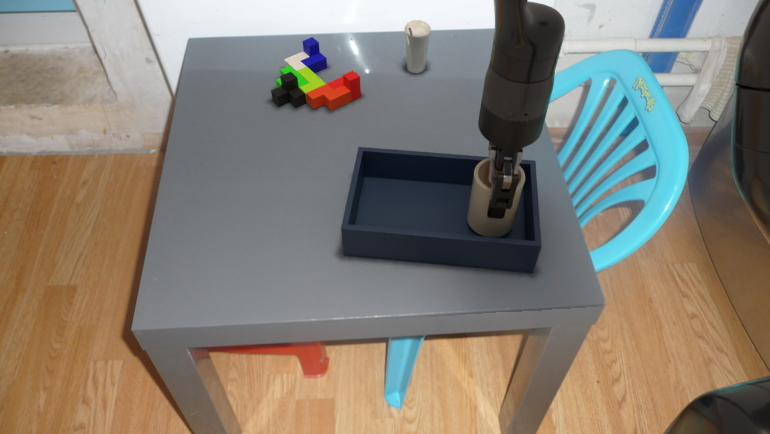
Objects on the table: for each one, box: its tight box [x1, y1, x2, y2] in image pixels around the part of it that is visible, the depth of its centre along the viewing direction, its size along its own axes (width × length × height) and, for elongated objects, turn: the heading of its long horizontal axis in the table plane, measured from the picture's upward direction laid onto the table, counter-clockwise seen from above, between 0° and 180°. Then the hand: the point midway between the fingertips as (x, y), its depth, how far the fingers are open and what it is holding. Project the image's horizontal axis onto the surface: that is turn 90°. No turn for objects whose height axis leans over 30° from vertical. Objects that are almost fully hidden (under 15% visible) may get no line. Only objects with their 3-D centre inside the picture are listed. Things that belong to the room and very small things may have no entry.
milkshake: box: [403, 19, 432, 74], centre depth 104 cm, size 5×5×10 cm
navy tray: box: [340, 146, 543, 274], centre depth 82 cm, size 26×16×6 cm, turn 83°
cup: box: [467, 158, 525, 237], centre depth 79 cm, size 7×7×9 cm
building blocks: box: [270, 36, 362, 111], centre depth 102 cm, size 15×13×4 cm
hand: (495, 195), depth 79 cm, fingers closed on cup, 6 cm apart
